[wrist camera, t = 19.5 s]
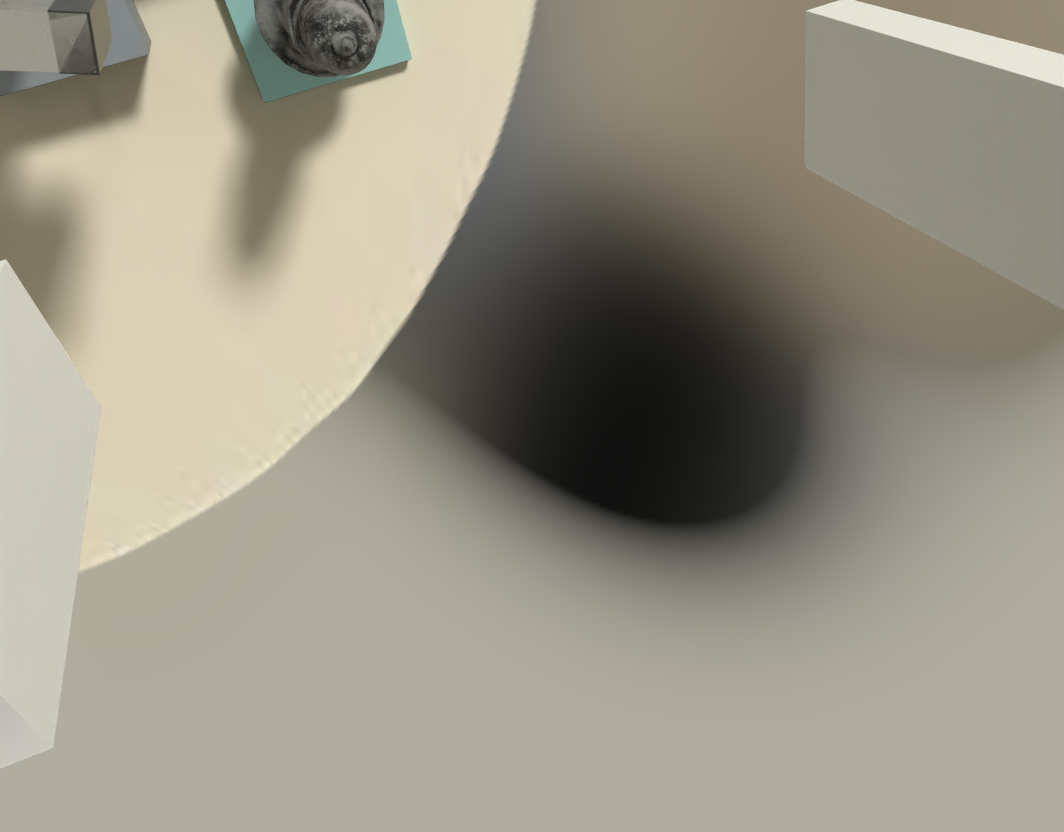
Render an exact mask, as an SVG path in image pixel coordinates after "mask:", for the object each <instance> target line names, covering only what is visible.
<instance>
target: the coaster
mask: <svg viewBox="0 0 1064 832" xmlns="http://www.w3.org/2000/svg"><path fill="white" fill-rule="evenodd" d="M225 2H226V5H227V7H228V10H229V13H230V15H231V18H232V20H233V23H234V26H235V28H236V31H237V33H238V36H239V39H240V41H241V44H242V46H243V49H244V52H245V54H246V57H247V60H248V62H249V65H250V67H251V70H252V73H253V75H254V78H255V80H256V83H257V86H258V88H259V91H260V93H261V96H262V99H263V101H264V103H265V102H269V101H272V100H275V99H279V98H282V97H285V96H289V95H292V94H296V93H299V92H302V91H306V90H309V89H312V88H316V87H319V86H322V85H326V84H329V83H333V82H336V81H339V80H343V79H346V78H349V77H353V76H356V75H360V74H363V73H366V72H370V71H373V70H376V69H380V68H383V67H387V66H390V65H393V64H397V63H400V62H403V61H407V60H410V59H412V57H411V53H410V50H409V46H408V42H407V39H406V35H405V31H404V27H403V24H402V20H401V16H400V12H399V9H398V5H397V1H396V0H384V14H385V21H384V25H383V30H382V35H381V38H380V40H379V42H378V44H377V47H376V52H375V55H374V57H373V59H372V61H371V62H370V64H369V65H368V66H367V67H366V68H365V69H363V70H362V71H360V72H358V73H355V74H352V75H339V76H336V77H315V76H311V75H307V74H303V73H300V72H299V71H297V70H295V69H293V68H291V67H290V66H288V65H286V64H285V63H284V62H283V61H282V60H281V59H279V58H278V57H277V56H276V55H275V54H274V53H273V52H272V50H271V49H270V47H269V46H268V44H267V43H266V41H265V40H264V38H263V37H262V35H261V32H260V29H259V26H258V24H257V21H256V18H255V9H254V0H225Z"/></svg>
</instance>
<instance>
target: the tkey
mask: <svg viewBox="0 0 1064 832" xmlns="http://www.w3.org/2000/svg"><path fill="white" fill-rule="evenodd" d="M111 41H112V36H111V30H110V23H109V17H108V11H107V4H106V0H0V70H3V71H36V72H59V74H84V75H100V74H101V71H102V68H103V65H104V62H105V59H106V56H107V53H108V50H109V47H110V44H111Z"/></svg>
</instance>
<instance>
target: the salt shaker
mask: <svg viewBox="0 0 1064 832" xmlns="http://www.w3.org/2000/svg"><path fill="white" fill-rule="evenodd" d="M254 9H255V18H256V21H257V24H258V26H259V29H260V32H261V35H262V37H263V38H264V40H265V41H266V43H267V44H268V46H269V47H270V49H271V50H272V52H273V53H274V54H275V55H276V56H277V57H278V58H279V59H281V60H282V61H283V62H284V63H285V64H286V65H288V66H290V67H291V68H293V69H295V70H297V71H299V72H300V73H303V74H307V75H311V76H315V77H336V76H339V75H352V74H355V73H358V72H360V71H362V70H363V69H365V68H366V67H367V66H368V65H369V64H370V62H371V61H372V59H373V57H374V55H375V52H376V47H377V44H378V42H379V40H380V38H381V35H382V30H383V25H384V21H385V14H384V0H254Z"/></svg>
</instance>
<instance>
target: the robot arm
mask: <svg viewBox="0 0 1064 832" xmlns="http://www.w3.org/2000/svg"><path fill="white" fill-rule="evenodd" d="M805 168H807V169H809V170H811V171H813V172H814V173H816V174H818V175H820V176H822V177H824V178H825V179H827V180H829V181H831V182H832V183H834V184H836V185H838V186H840V187H842V188H843V189H845V190H847V191H849V192H851V193H853V194H854V195H856V196H858V197H860V198H862V199H863V200H865V201H867V202H869V203H871V204H872V205H874V206H876V207H878V208H880V209H882V210H883V211H885V212H887V213H889V214H891V215H893V216H894V217H896V218H898V219H900V220H902V221H904V222H905V223H907V224H909V225H911V226H913V227H914V228H916V229H918V230H920V231H922V232H923V233H925V234H927V235H929V236H931V237H933V238H934V239H936V240H938V241H940V242H942V243H944V244H945V245H947V246H949V247H951V248H953V249H955V250H956V251H958V252H960V253H962V254H963V255H965V256H967V257H969V258H971V259H973V260H974V261H976V262H978V263H980V264H982V265H984V266H985V267H987V268H989V269H991V270H993V271H994V272H996V273H998V274H1000V275H1002V276H1003V277H1006V278H1007V279H1009V280H1011V281H1013V282H1015V283H1017V284H1018V285H1020V286H1022V287H1024V288H1025V289H1027V290H1029V291H1031V292H1033V293H1034V294H1036V295H1038V296H1040V297H1042V298H1044V299H1045V300H1047V301H1049V302H1051V303H1053V304H1055V305H1057V306H1058V307H1060V308H1062V309H1064V55H1062V54H1058V53H1055V52H1050V51H1047V50H1043V49H1039V48H1035V47H1031V46H1027V45H1024V44H1020V43H1016V42H1012V41H1008V40H1004V39H1001V38H997V37H993V36H989V35H985V34H981V33H977V32H974V31H970V30H966V29H962V28H958V27H955V26H951V25H947V24H943V23H939V22H935V21H931V20H928V19H924V18H920V17H916V16H912V15H908V14H905V13H901V12H897V11H893V10H889V9H885V8H881V7H878V6H874V5H870V4H866V3H862V2H858V1H855V0H839V1H836V2H833V3H830V4H826V5H823V6H820V7H817V8H813V9H810V10H807V11H806V82H805ZM100 412H101V406H100V404H99V402H98V401H97V399H96V398H95V396H94V395H93V393H92V392H91V390H90V388H89V387H88V385H87V384H86V382H85V381H84V379H83V378H82V376H81V375H80V373H79V371H78V370H77V368H76V367H75V365H74V364H73V362H72V361H71V359H70V357H69V356H68V354H67V353H66V351H65V350H64V348H63V347H62V345H61V344H60V342H59V340H58V339H57V337H56V336H55V334H54V333H53V331H52V330H51V328H50V326H49V325H48V323H47V322H46V320H45V319H44V317H43V316H42V314H41V313H40V311H39V309H38V308H37V306H36V305H35V303H34V302H33V300H32V299H31V297H30V296H29V294H28V292H27V291H26V289H25V288H24V286H23V285H22V283H21V282H20V280H19V278H18V277H17V275H16V274H15V272H14V271H13V269H12V268H11V266H10V265H9V263H8V261H7V260H6V259H5V260H2V261H0V768H3V767H5V766H8V765H10V764H13V763H15V762H18V761H20V760H23V759H26V758H28V757H31V756H33V755H36V754H38V753H41V752H43V751H46V750H48V749H51V748H53V744H54V737H55V730H56V722H57V716H58V709H59V702H60V695H61V687H62V680H63V674H64V666H65V659H66V652H67V645H68V638H69V631H70V624H71V617H72V609H73V602H74V596H75V589H76V582H77V575H78V568H79V561H80V553H81V546H82V539H83V532H84V525H85V518H86V511H87V504H88V497H89V490H90V483H91V476H92V469H93V462H94V455H95V447H96V440H97V433H98V426H99V419H100Z"/></svg>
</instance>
